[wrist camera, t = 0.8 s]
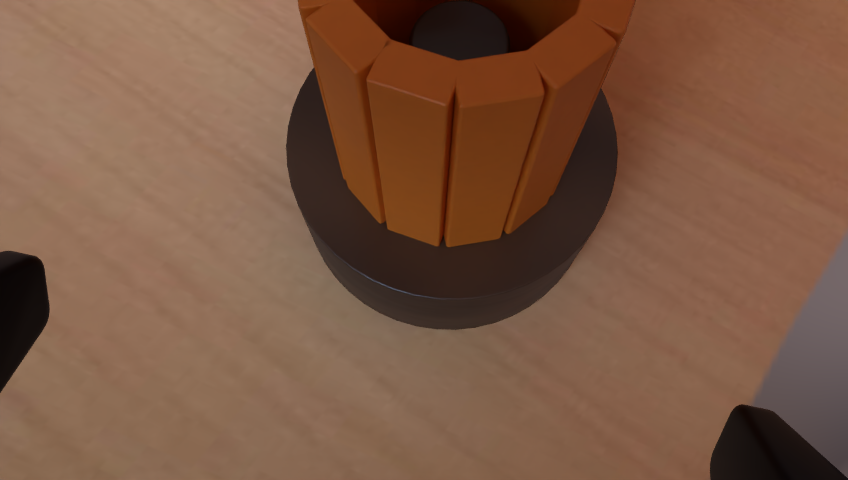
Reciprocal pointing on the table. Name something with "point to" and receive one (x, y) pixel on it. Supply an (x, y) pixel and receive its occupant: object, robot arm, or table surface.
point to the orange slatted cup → (459, 109)
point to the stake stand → (440, 265)
